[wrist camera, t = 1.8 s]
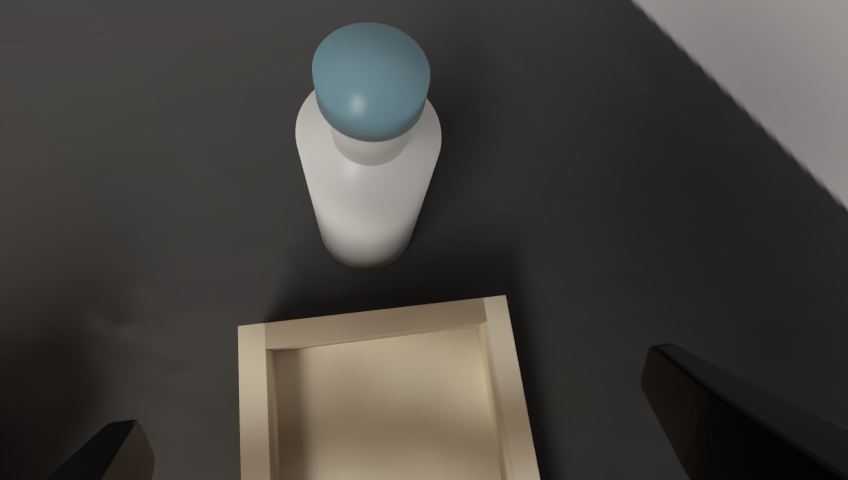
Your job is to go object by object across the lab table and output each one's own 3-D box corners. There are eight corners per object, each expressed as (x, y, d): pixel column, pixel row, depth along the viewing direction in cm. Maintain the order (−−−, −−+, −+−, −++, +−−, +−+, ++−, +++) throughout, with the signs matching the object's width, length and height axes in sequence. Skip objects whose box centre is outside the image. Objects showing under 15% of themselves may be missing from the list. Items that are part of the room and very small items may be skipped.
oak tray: (532, 562, 19) (561, 593, 17) (263, 620, 18) (244, 665, 15) (487, 306, 23) (505, 295, 20) (255, 334, 21) (238, 326, 18)
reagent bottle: (427, 209, 24) (487, 46, 12) (386, 286, 22) (412, 182, 11) (348, 168, 24) (337, -28, 13) (302, 243, 22) (241, 96, 11)
